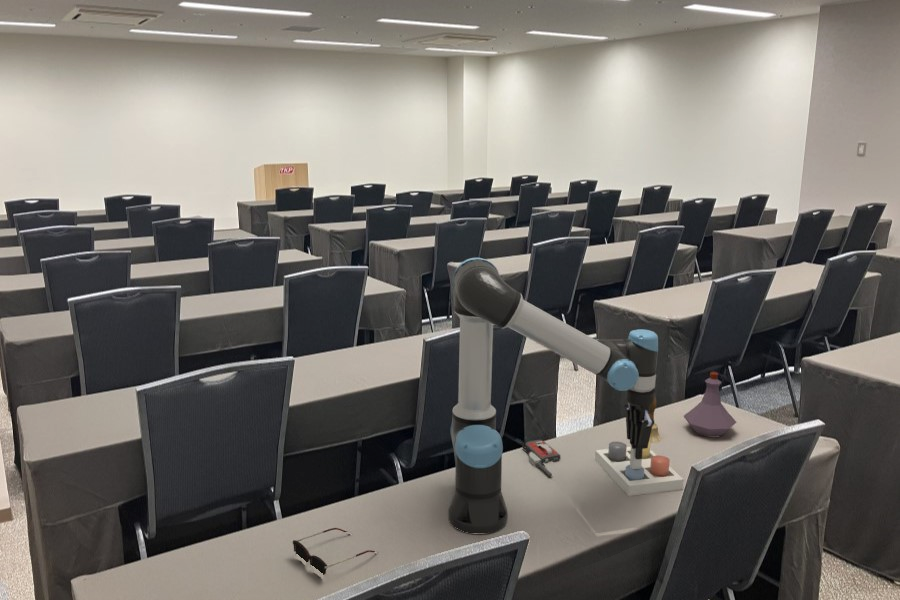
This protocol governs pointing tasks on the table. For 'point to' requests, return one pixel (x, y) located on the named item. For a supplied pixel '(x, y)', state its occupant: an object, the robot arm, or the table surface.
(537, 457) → the walkie-talkie
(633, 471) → the button slate
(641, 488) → the console
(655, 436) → the hand bell
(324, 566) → the sunglasses
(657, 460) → the button brick
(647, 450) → the button mustard
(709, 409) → the flask
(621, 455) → the button charcoal
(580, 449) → the table surface
